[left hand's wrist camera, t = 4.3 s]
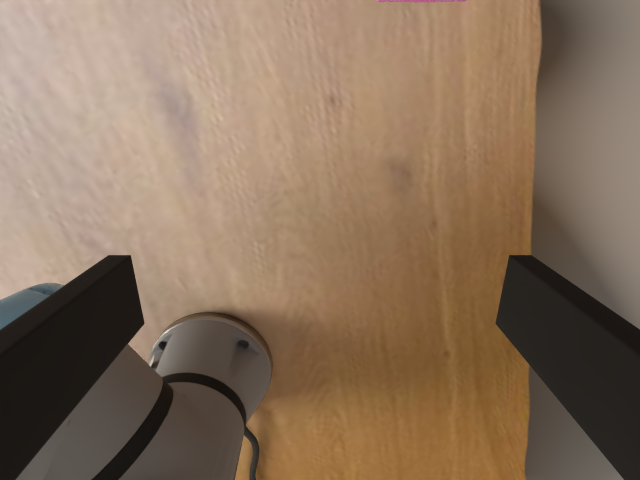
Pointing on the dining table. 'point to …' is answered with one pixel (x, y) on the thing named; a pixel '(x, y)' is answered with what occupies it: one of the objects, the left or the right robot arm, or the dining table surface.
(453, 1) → the gum box
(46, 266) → the dining table surface
